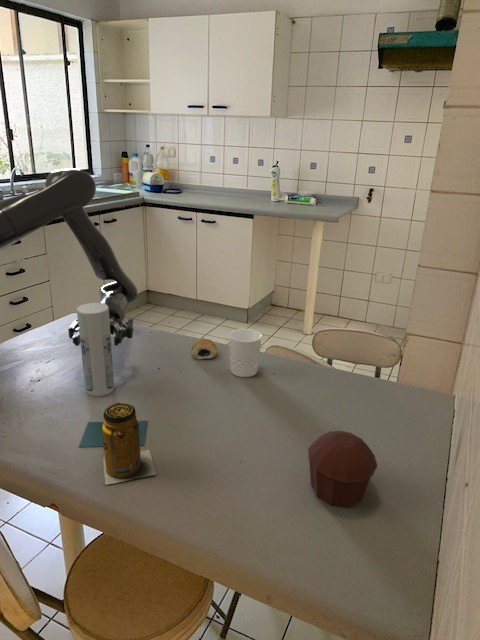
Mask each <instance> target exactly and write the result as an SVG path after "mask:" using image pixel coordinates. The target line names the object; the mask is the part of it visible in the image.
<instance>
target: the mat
mask: <svg viewBox="0 0 480 640" xmlns="http://www.w3.org/2000/svg"><path fill="white" fill-rule="evenodd" d="M103 423H104V421H88V422H87V424H86V426H85V428H84V432H83V434H82V437H81V440H80V443H79V445H78V448H104V441H103V430H102V427H103ZM138 423H139V439H140V447H144V446H145V441H146V435H147V428H148V423H149V420H138Z"/></svg>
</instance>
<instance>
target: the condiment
mask: <svg viewBox="0 0 480 640" xmlns="http://www.w3.org/2000/svg"><path fill="white" fill-rule="evenodd" d="M136 413H137V411H136V407H134V405H133V404H130V403H128V402H116V403H112V404H110V405H108V406H107V407H106V408H105V409H104V411H103V413H102V415H103V416H102V417H103V422H104V423H103V427H102V430H103V441H104V447H103V451H104V457H102V464H103V473H104V483H105V486H107V485H112V484H118V483H125V482H128V481H132V480H137V479H141V478H142V479H143V478H147V477H150V476H155V475H157V472H156V469H155V465H154V461H153V458H152V454H151V449H145V450H141V446H140V439H139V423H138V421H139V420H138V419H137V414H136Z"/></svg>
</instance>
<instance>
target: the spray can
mask: <svg viewBox="0 0 480 640" xmlns="http://www.w3.org/2000/svg"><path fill="white" fill-rule="evenodd" d="M76 317H77V319H78V326H79V335H80V344H79V345H80V351H81V360H82V368H83V369H82V370H83V378H84V387H85V392H86V394H88V395H89V396H91V397H103V396H106V395H109V394H111V393H112V392H113V391H114V388H115V382H114V381H115V380H114V367H113V365H114V364H113V352H112V338H111V337H112V336H111V335H110V320H109V307H108V306H107V305H106V304H103V303H98V302H88V303H84V304H81V305H79V306H77V308H76Z"/></svg>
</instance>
